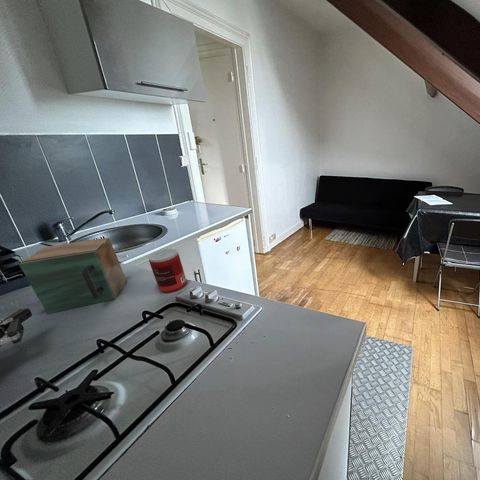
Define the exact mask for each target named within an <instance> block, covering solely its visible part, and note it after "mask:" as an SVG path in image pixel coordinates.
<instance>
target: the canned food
mask: <svg viewBox="0 0 480 480" xmlns="http://www.w3.org/2000/svg"><path fill="white" fill-rule="evenodd" d="M148 262H149V265H150V268H151V270H152V274H153V276H154V280H155V282H156V284H157V287H158V290H159V291H160V292H161V293H164V294H171V293H175V292H178V291H180V290H181V289H183V288H184V287H186V285H187V278H186V274H185V270H184V267H183V264H182V260H181V256H180V254H179V252H178V249H175V248H167V249H161V250H158V251H155V252H153V253H151V254H150V255H149V256H148Z"/></svg>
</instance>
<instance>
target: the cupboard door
mask: <svg viewBox="0 0 480 480" xmlns="http://www.w3.org/2000/svg"><path fill="white" fill-rule="evenodd" d="M18 265H19V268H20V269H21V270H22V272H23V274H24V276H25V277H26V280H27V281H28V283H29V284H30V286H31V288H32V290H33V292H34V293H35V295H36V297H37V299H38V300H39V302H40V304H41V306H42V308H43V309H44V311H45V313H46V314H47V315H49V314H50V315H51V314H55V313H59V312H63V311H69V310H72V309H73V310H74V309H78V308H82V307H86V306H91V305H96V304H101V303H106V302H110V301H115V300H116V298H115V296H114V293H113V291H112V289H111V286H110V284H109V282H108V280H107V277H106V275H105V273H104V270H103V268H102V266H101V263H100V261H99V259H98V256H97V254H96V252H95V251H90V252H84V253H78V254H72V255H65V256H59V257H53V258H47V259H41V260H35V261H29V262H22V261H21V262H20V263H19V264H18Z"/></svg>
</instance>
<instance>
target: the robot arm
mask: <svg viewBox="0 0 480 480" xmlns="http://www.w3.org/2000/svg"><path fill="white" fill-rule="evenodd" d="M32 316H33V313H32V311H31V310H30V308H29V307H27V308H20V309H18V310H17V311H15V312H13V313H11V314H10V315H9V316H7V317H5V318H1V319H0V348H1V346H2V345H5V344H8V343H12V344H14V345H15V344H19V343H20V342H21V341H22V340H23V335H24V332H25V327H24V325H23V323H24V322H25V321H27V320H28V319H30V318H32Z"/></svg>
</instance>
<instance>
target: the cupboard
mask: <svg viewBox="0 0 480 480" xmlns="http://www.w3.org/2000/svg"><path fill="white" fill-rule="evenodd" d="M90 251H95V252H96V254H97V256H98V259H99V261H100V263H101V266H102V268H103V270H104V273H105V275H106V277H107V280H108V282H109V284H110V286H111V289H112V291H113V293H114V296H115V299H117V297H119V294H120V293H121V292H122V290H123V288H124V287H125V285H126V284H127V282H128V281H127V278H126V276H125V273H124V271H123V268H122V266H121V263H120V261H119V259H118V256H117V254H116V251H115V249H114V246H113V243H112V241H111V239H110V237H102V238H96V239H90V240H89V239H88V240H82V241H77V242H76V241H75V242H70V243H63V244H57V245H48V246H44V247H42V248H40V249H39V250H38V251H36V252H34V253H33V254H31V255H29V256H28V257H26V258H25V259H23V260H22V261H21V263H22V262H29V261H35V260H41V259H47V258H53V257H59V256H65V255H72V254H78V253H84V252H90Z"/></svg>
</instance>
